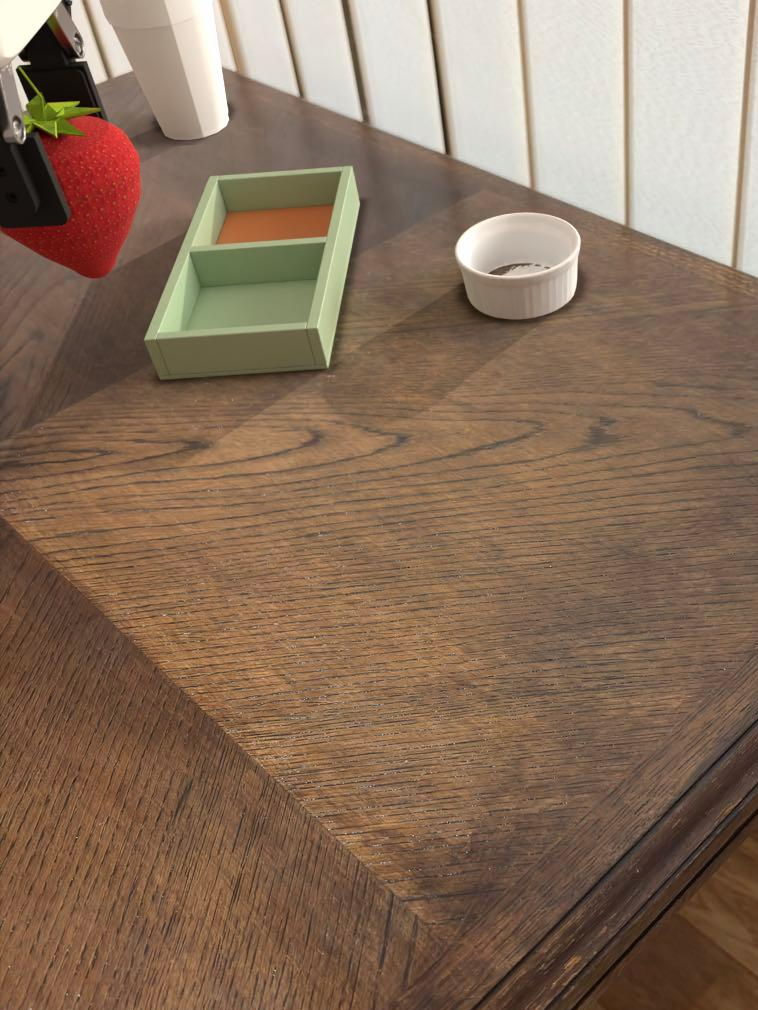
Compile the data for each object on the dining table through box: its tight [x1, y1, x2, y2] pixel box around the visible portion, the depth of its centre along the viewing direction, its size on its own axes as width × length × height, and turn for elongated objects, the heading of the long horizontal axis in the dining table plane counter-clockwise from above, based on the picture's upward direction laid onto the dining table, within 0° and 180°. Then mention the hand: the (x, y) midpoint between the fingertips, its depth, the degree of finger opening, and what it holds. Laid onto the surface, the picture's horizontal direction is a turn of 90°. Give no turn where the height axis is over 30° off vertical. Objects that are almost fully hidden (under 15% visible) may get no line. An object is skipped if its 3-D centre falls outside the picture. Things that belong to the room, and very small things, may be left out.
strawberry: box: [0, 65, 142, 280], centre depth 50 cm, size 6×8×10 cm
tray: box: [143, 165, 361, 381], centre depth 79 cm, size 12×22×4 cm, turn 1°
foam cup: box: [99, 0, 230, 141], centre depth 97 cm, size 10×9×13 cm
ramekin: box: [454, 212, 581, 320], centre depth 76 cm, size 9×9×4 cm
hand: (59, 180), depth 49 cm, fingers closed on strawberry, 6 cm apart
